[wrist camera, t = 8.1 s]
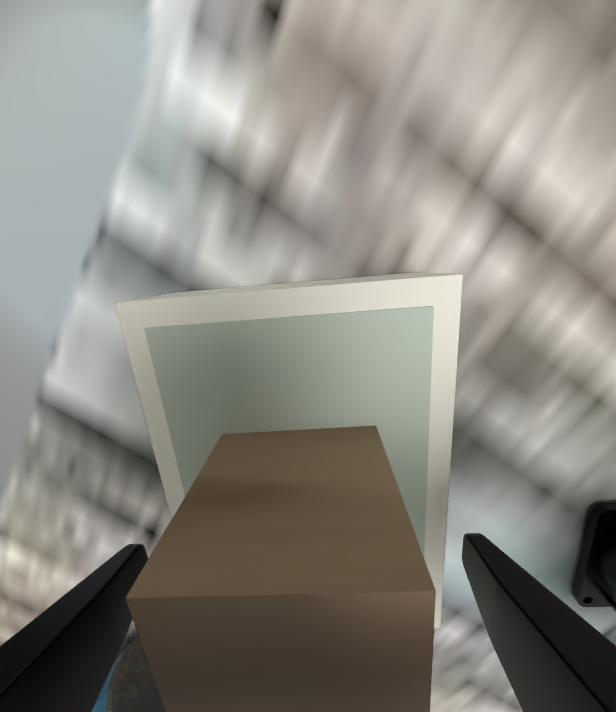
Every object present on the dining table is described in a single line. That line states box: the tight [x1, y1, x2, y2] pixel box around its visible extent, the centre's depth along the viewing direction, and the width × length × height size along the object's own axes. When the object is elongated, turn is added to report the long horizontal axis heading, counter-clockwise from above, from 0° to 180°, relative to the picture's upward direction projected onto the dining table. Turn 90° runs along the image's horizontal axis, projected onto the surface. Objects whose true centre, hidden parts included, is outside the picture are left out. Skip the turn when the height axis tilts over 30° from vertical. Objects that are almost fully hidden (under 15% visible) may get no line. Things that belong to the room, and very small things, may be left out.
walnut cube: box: [126, 425, 436, 712], centre depth 8 cm, size 5×5×5 cm
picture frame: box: [115, 272, 463, 628], centre depth 12 cm, size 14×10×4 cm
